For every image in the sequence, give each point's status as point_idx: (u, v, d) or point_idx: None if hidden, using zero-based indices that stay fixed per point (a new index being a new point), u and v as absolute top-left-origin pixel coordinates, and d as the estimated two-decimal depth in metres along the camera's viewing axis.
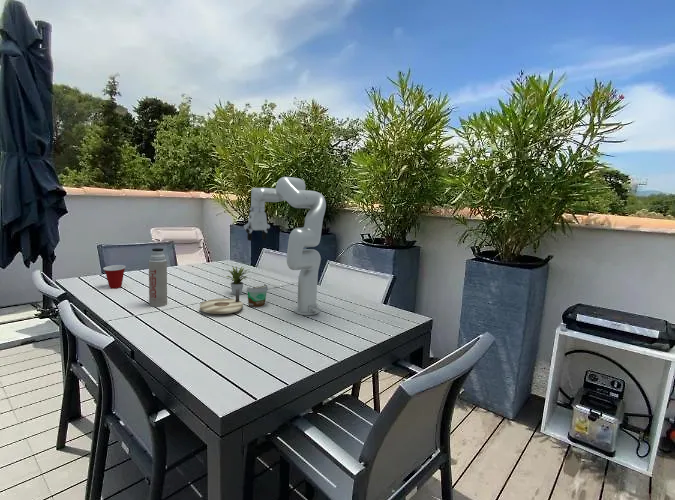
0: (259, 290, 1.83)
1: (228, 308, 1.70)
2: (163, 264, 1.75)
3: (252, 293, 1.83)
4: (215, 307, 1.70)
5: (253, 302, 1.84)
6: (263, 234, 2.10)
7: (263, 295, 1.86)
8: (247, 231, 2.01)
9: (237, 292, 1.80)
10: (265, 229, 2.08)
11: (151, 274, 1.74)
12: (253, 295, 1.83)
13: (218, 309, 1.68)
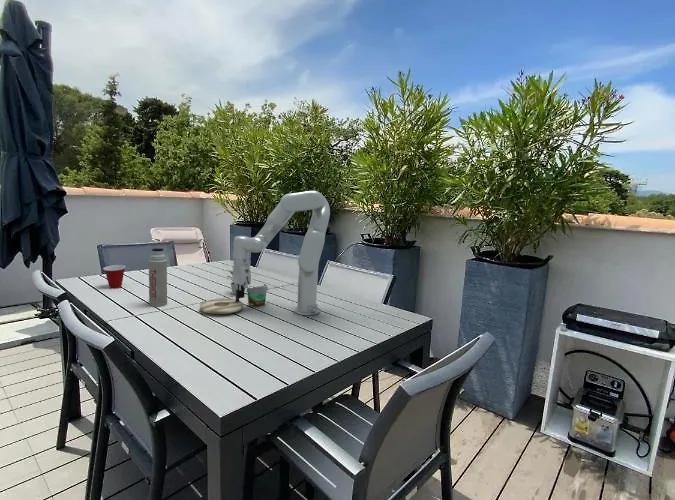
0: (259, 290, 1.83)
1: (228, 308, 1.70)
2: (163, 264, 1.75)
3: (252, 293, 1.83)
4: (215, 307, 1.70)
5: (253, 302, 1.84)
6: None
7: (263, 295, 1.86)
8: None
9: None
10: None
11: (151, 274, 1.74)
12: (253, 295, 1.83)
13: (218, 309, 1.68)
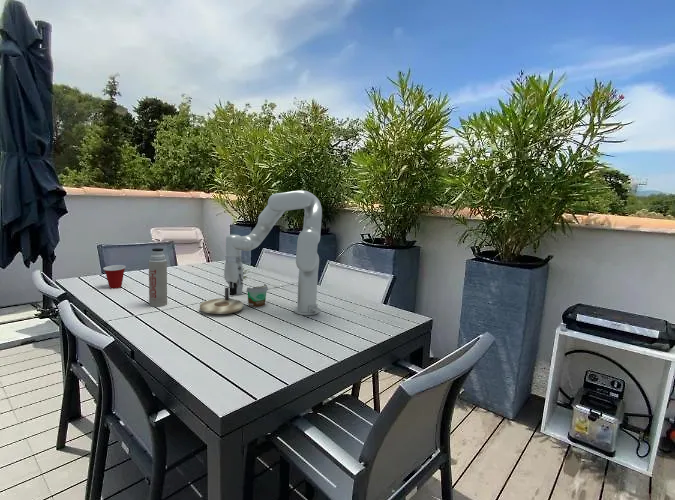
0: (259, 290, 1.83)
1: (237, 305, 1.75)
2: (163, 264, 1.75)
3: (252, 293, 1.83)
4: (225, 307, 1.71)
5: (253, 302, 1.84)
6: None
7: (263, 295, 1.86)
8: (237, 285, 1.82)
9: (227, 290, 1.83)
10: None
11: (151, 274, 1.74)
12: (253, 295, 1.83)
13: (232, 308, 1.71)
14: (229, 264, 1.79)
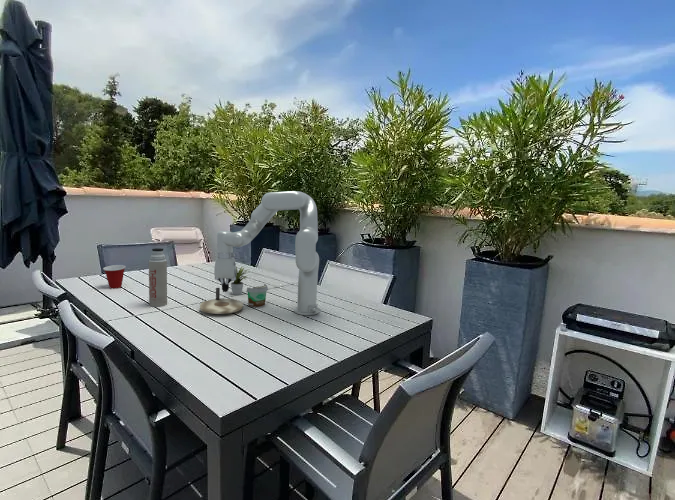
0: (259, 290, 1.83)
1: (238, 303, 1.79)
2: (163, 264, 1.75)
3: (252, 293, 1.83)
4: (230, 306, 1.73)
5: (253, 302, 1.84)
6: None
7: (263, 295, 1.86)
8: (230, 281, 1.84)
9: (219, 290, 1.82)
10: None
11: (151, 274, 1.74)
12: (253, 295, 1.83)
13: (238, 305, 1.75)
14: (223, 261, 1.79)
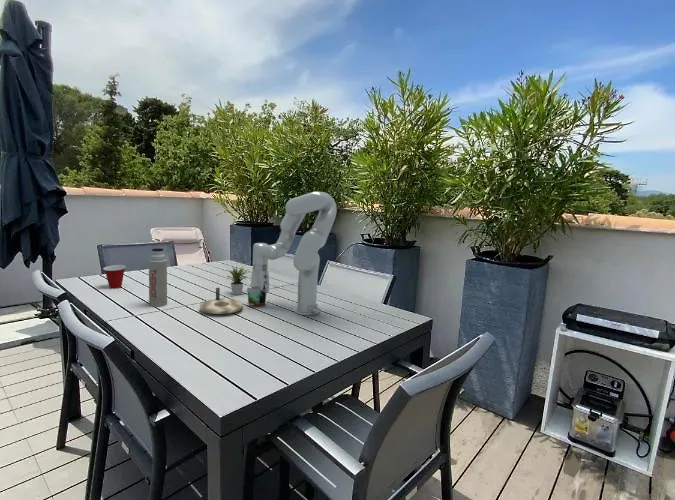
0: (259, 290, 1.82)
1: (238, 303, 1.79)
2: (163, 264, 1.75)
3: (252, 293, 1.82)
4: (230, 306, 1.73)
5: (253, 303, 1.84)
6: None
7: None
8: (266, 293, 1.83)
9: (219, 290, 1.82)
10: None
11: (151, 274, 1.74)
12: (253, 295, 1.83)
13: (238, 305, 1.75)
14: (255, 272, 1.83)
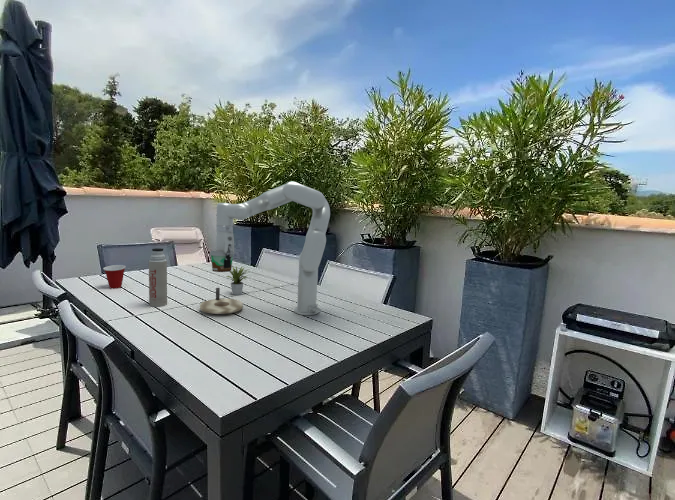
0: (223, 253, 1.69)
1: (238, 303, 1.79)
2: (163, 264, 1.75)
3: (216, 257, 1.69)
4: (230, 306, 1.73)
5: (217, 267, 1.70)
6: None
7: None
8: None
9: (219, 290, 1.82)
10: None
11: (151, 274, 1.74)
12: (217, 258, 1.69)
13: (238, 305, 1.75)
14: (219, 234, 1.70)
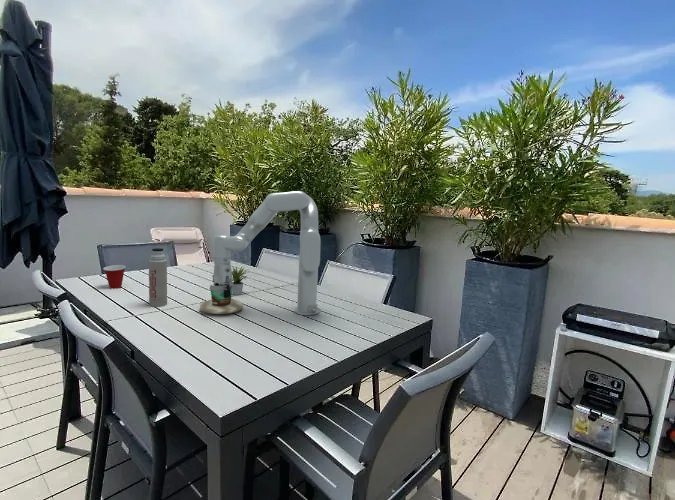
0: (223, 288, 1.71)
1: (238, 303, 1.79)
2: (163, 264, 1.75)
3: (215, 291, 1.71)
4: (230, 306, 1.73)
5: (217, 301, 1.72)
6: None
7: None
8: None
9: None
10: None
11: (151, 274, 1.74)
12: (217, 293, 1.71)
13: (238, 305, 1.75)
14: (217, 265, 1.71)
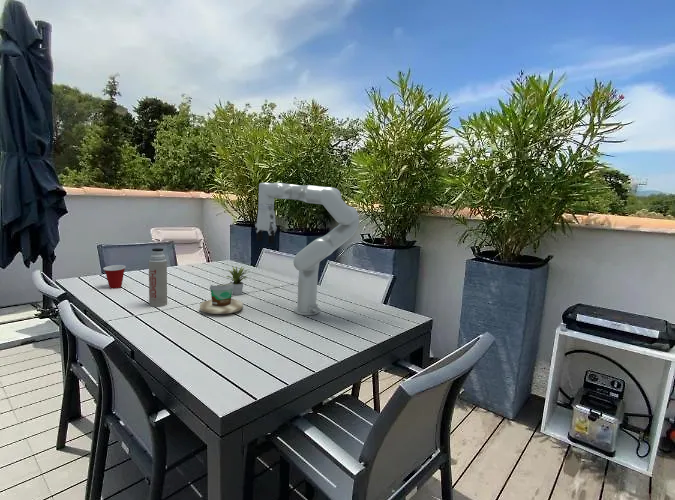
0: (223, 288, 1.71)
1: (238, 303, 1.79)
2: (163, 264, 1.75)
3: (216, 291, 1.71)
4: (230, 306, 1.73)
5: (217, 301, 1.72)
6: (260, 235, 1.84)
7: (228, 293, 1.74)
8: None
9: None
10: None
11: (151, 274, 1.74)
12: (217, 293, 1.71)
13: (238, 305, 1.75)
14: (262, 212, 1.78)
